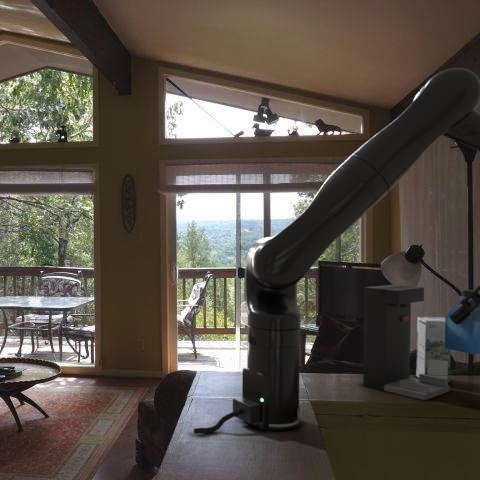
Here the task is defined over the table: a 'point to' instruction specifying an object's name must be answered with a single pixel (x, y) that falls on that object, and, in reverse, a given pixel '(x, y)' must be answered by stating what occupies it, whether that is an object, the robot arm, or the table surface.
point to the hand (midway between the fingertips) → (462, 319)
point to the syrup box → (432, 348)
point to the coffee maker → (394, 343)
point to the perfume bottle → (463, 330)
